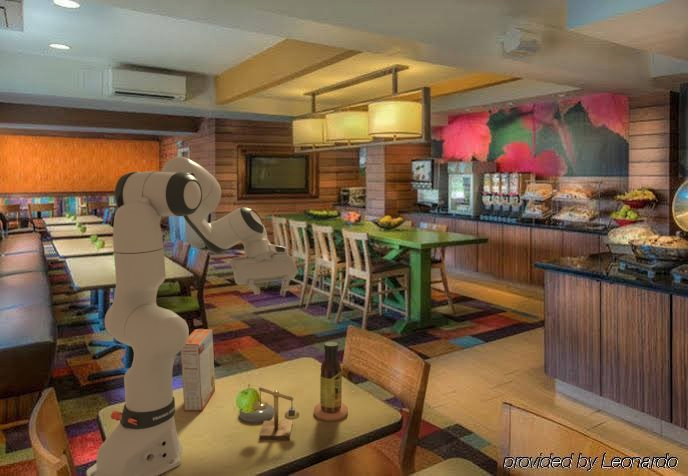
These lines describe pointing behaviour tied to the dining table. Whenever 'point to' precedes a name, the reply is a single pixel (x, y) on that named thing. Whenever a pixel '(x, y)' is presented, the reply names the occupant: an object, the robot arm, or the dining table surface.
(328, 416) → the terracotta dish
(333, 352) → the sauce bottle
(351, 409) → the dining table surface
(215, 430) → the dining table surface
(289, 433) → the brass balance
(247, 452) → the dining table surface
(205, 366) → the cracker box
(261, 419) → the slate dish
